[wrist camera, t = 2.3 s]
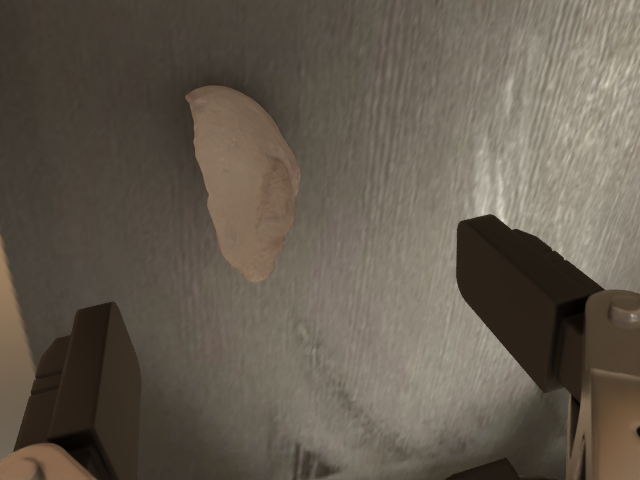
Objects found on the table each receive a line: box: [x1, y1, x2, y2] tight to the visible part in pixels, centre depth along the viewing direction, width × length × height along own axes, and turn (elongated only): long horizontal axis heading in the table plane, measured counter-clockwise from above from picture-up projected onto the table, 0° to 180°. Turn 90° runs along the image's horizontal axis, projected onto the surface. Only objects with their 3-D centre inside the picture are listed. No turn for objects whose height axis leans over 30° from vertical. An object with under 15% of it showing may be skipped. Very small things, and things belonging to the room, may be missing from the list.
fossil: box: [185, 85, 301, 282], centre depth 19 cm, size 6×4×10 cm, turn 13°
